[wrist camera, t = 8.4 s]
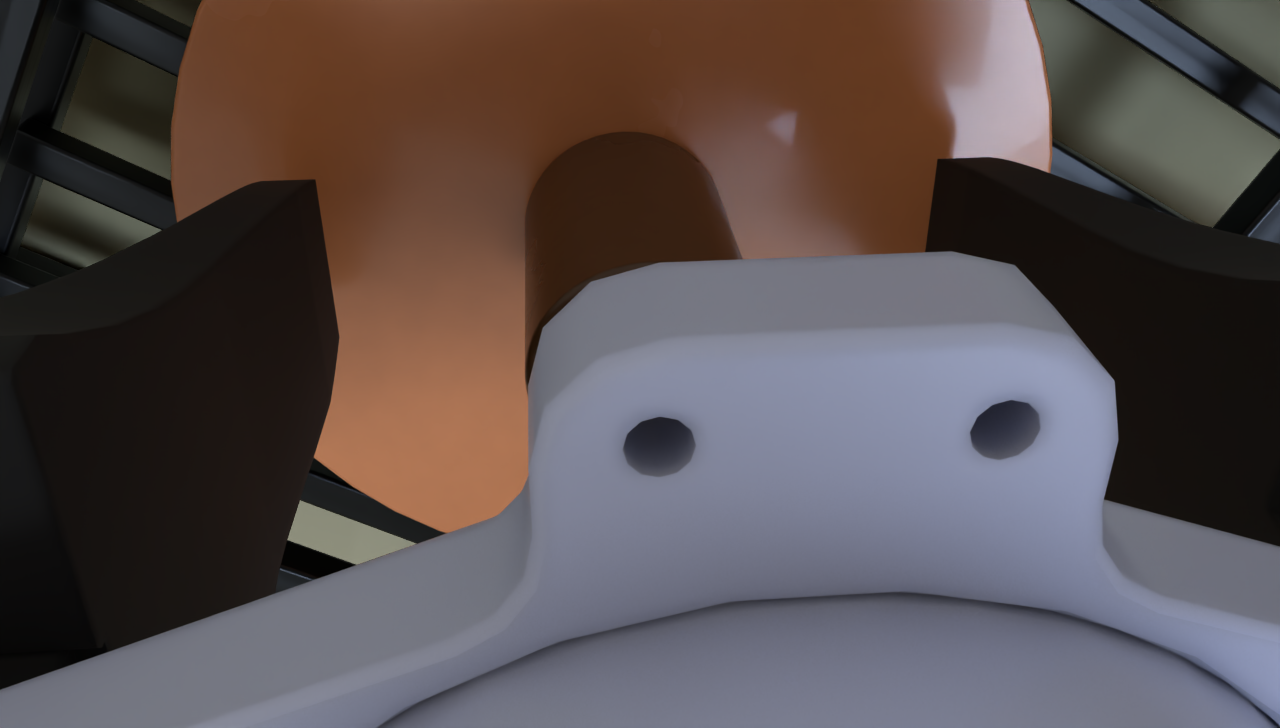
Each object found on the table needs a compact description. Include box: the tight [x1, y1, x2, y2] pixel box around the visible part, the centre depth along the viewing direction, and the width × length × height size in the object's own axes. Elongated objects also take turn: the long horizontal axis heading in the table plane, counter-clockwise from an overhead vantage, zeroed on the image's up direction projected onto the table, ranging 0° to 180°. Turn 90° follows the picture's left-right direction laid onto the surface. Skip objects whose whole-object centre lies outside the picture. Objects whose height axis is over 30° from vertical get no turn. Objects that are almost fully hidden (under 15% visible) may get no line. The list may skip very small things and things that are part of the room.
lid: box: [171, 0, 1052, 533], centre depth 13 cm, size 11×11×5 cm
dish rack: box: [0, 0, 1280, 593], centre depth 15 cm, size 21×14×6 cm, turn 60°
